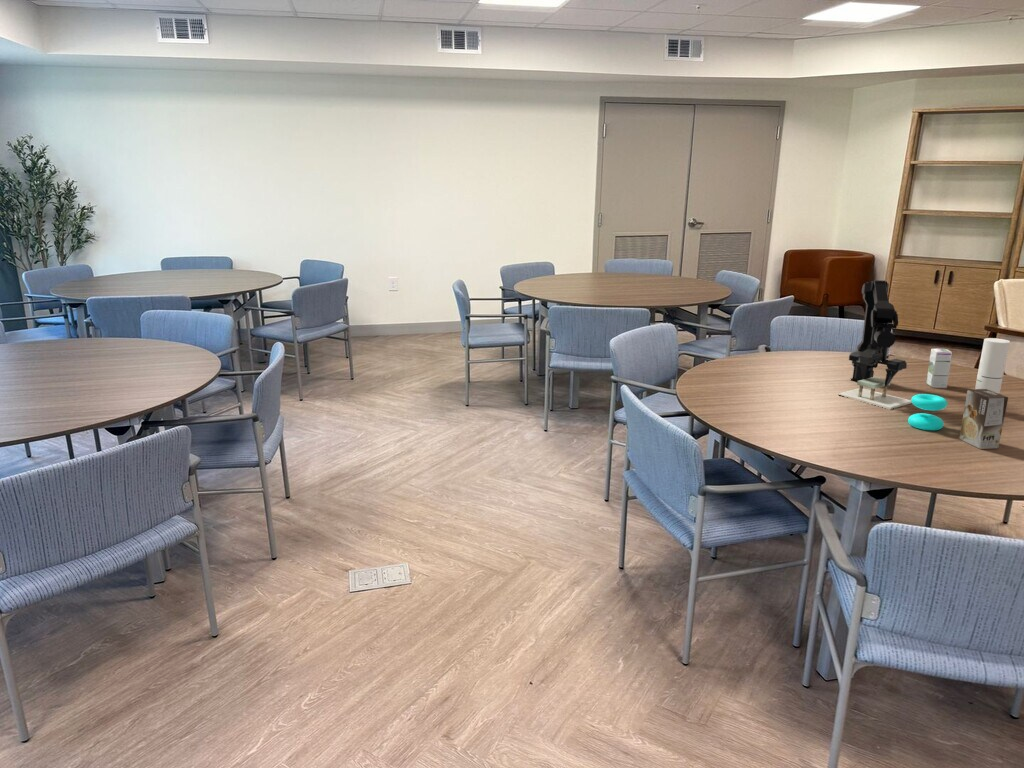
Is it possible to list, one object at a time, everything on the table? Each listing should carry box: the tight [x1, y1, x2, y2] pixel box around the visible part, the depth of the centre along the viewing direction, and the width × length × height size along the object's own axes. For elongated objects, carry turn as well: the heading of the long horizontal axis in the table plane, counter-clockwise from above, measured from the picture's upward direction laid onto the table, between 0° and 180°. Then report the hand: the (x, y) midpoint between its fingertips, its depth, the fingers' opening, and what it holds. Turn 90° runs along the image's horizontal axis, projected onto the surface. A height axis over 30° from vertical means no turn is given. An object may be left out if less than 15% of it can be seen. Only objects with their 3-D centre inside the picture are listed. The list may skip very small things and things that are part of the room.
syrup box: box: [925, 347, 953, 389], centre depth 261 cm, size 6×6×14 cm
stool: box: [856, 376, 892, 400], centre depth 248 cm, size 10×6×6 cm, turn 121°
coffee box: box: [959, 388, 1009, 450], centre depth 203 cm, size 9×6×16 cm
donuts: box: [907, 393, 948, 431], centre depth 218 cm, size 10×10×10 cm
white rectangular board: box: [837, 387, 913, 410], centre depth 248 cm, size 20×14×1 cm
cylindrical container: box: [974, 337, 1011, 394], centre depth 231 cm, size 7×7×25 cm
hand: (873, 383), depth 247 cm, fingers open, 9 cm apart
